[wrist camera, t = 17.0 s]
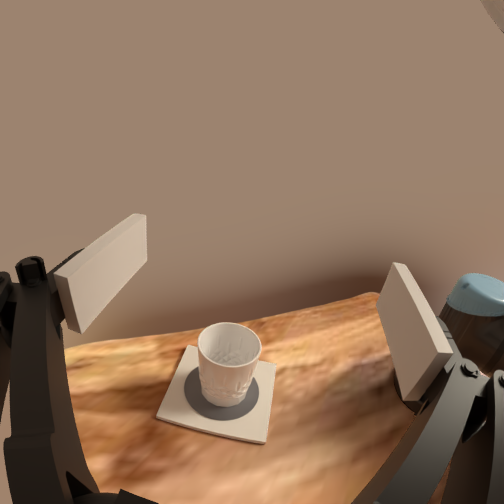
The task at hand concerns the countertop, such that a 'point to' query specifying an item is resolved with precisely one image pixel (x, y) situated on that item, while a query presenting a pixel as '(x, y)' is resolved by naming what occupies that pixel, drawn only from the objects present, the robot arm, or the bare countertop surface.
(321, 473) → the countertop surface
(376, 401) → the countertop surface
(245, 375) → the white cup
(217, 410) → the trivet
